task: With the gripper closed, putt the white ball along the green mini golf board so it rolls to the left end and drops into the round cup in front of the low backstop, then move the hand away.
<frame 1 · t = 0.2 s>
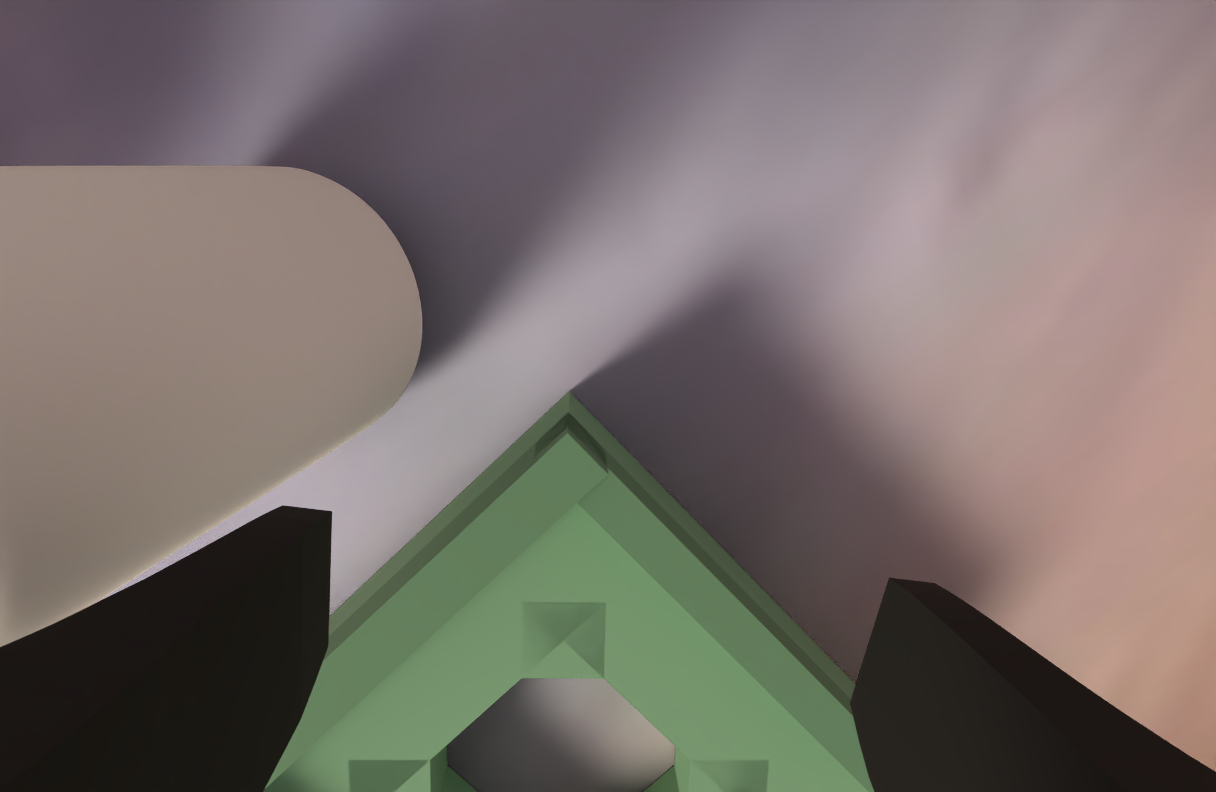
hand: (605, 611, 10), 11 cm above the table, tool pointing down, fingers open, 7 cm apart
can: (309, 305, 19), point 1 cm above the table
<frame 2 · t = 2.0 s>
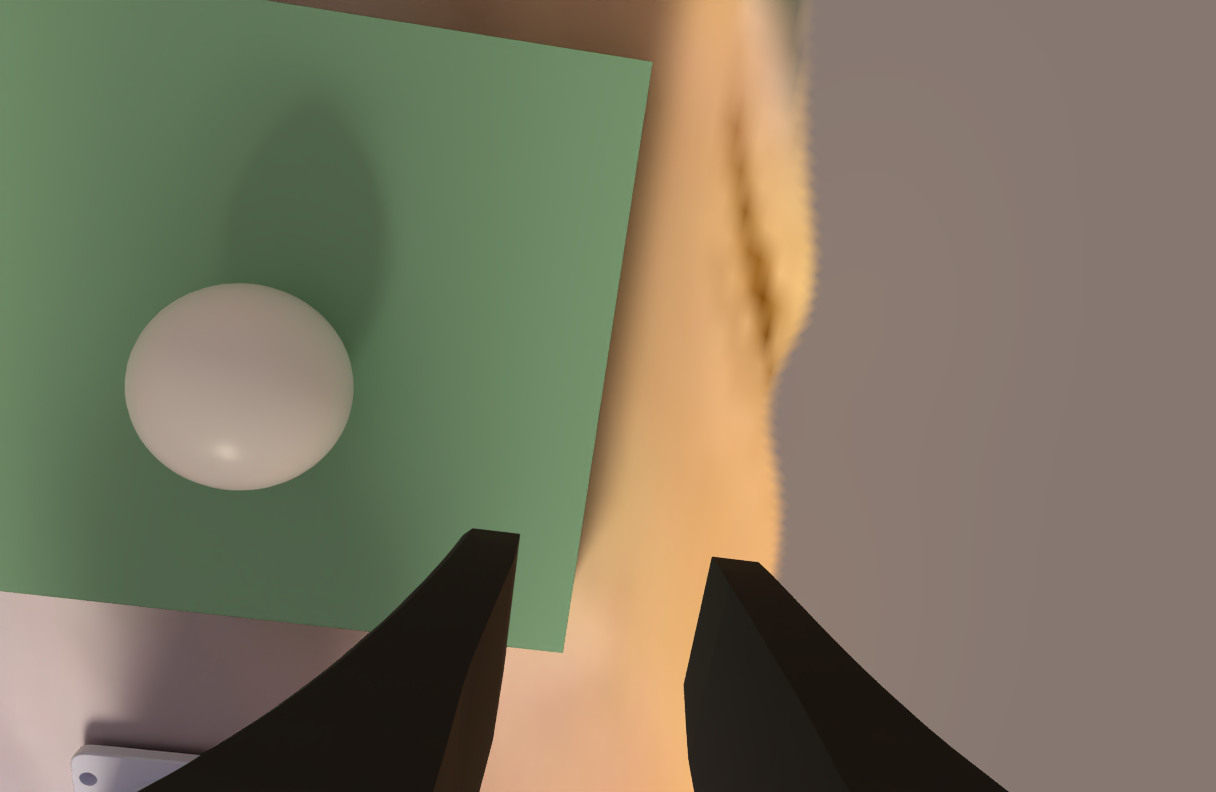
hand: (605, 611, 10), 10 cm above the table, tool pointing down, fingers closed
ball: (245, 386, 15), point 4 cm above the table, touching green mini golf board
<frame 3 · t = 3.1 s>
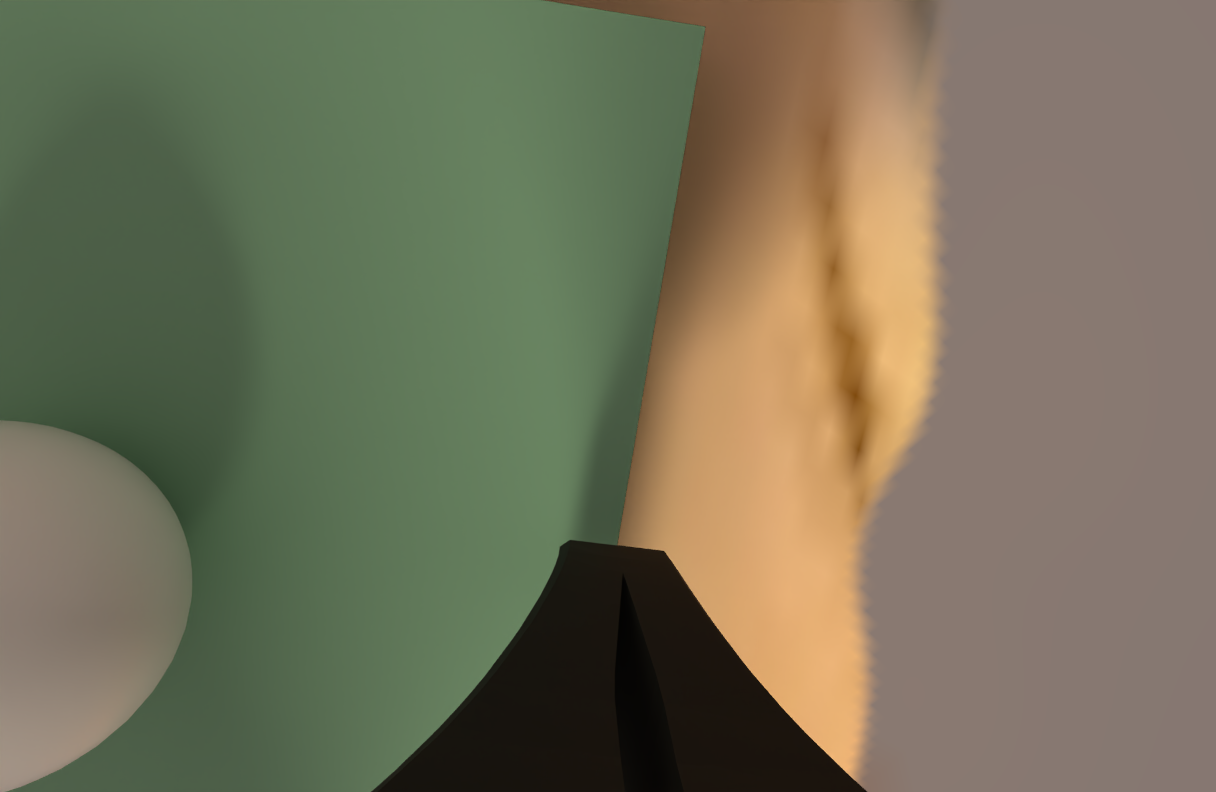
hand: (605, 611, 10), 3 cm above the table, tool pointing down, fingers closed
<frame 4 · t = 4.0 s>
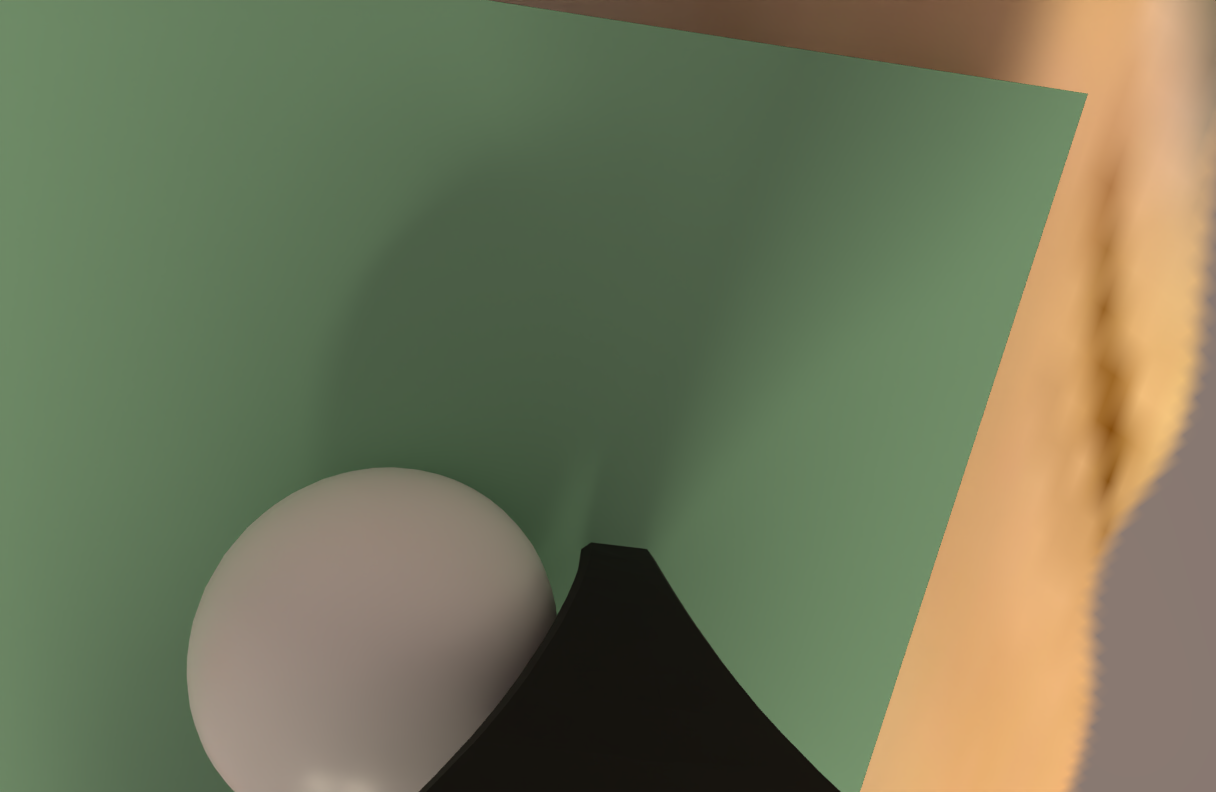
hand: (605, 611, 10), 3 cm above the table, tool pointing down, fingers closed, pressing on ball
ball: (384, 641, 9), point 4 cm above the table, tilted 5°, touching gripper, green mini golf board
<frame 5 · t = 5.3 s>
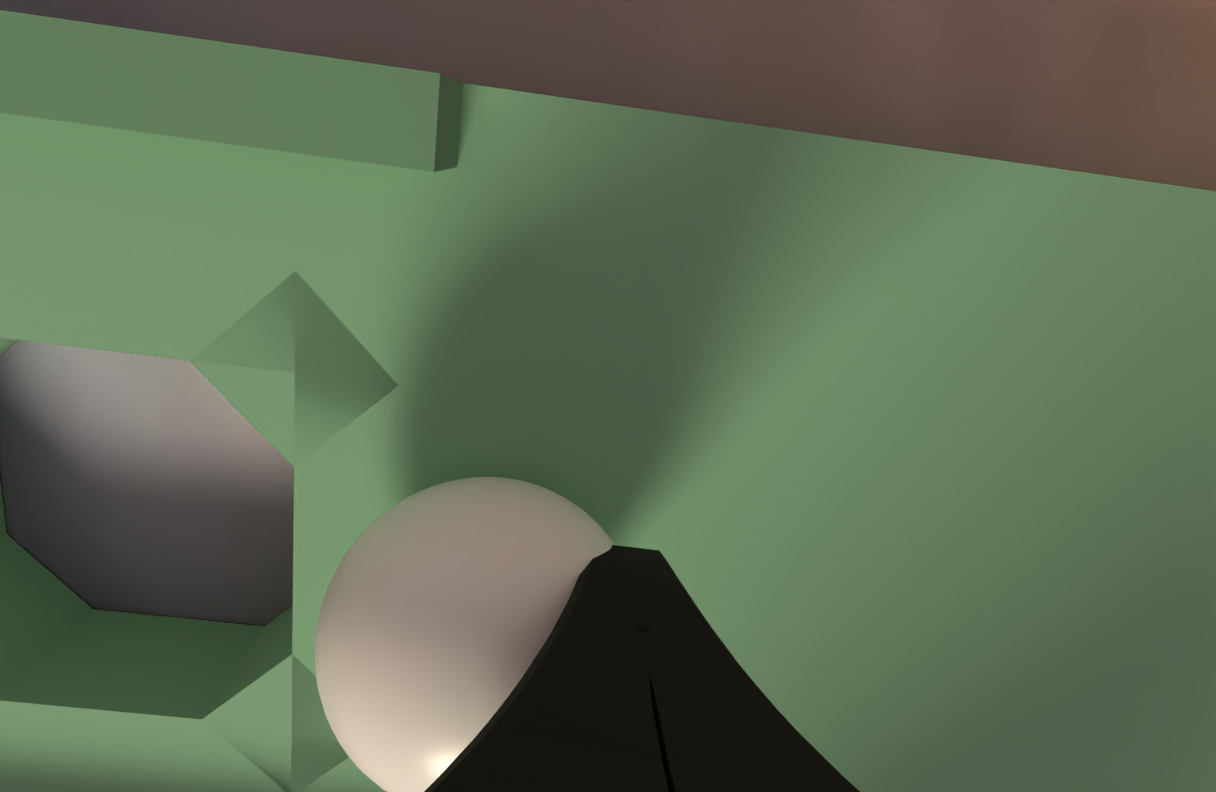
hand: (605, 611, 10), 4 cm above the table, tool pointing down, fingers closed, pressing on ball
green mini golf board: (619, 523, 14), on the table
ball: (484, 636, 10), point 4 cm above the table, tilted 69°, touching gripper, green mini golf board
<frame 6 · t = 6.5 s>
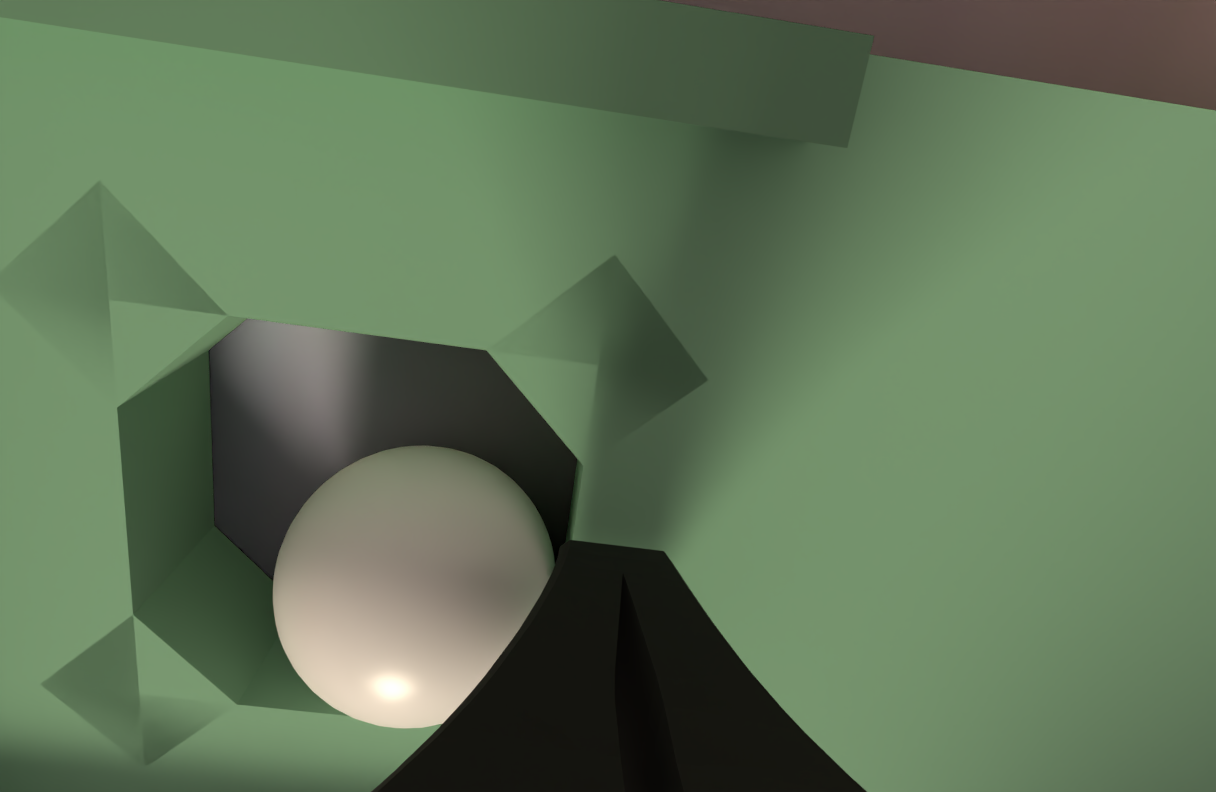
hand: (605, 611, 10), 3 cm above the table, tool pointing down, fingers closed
green mini golf board: (859, 521, 14), on the table
ball: (420, 581, 11), point 2 cm above the table, tilted 48°
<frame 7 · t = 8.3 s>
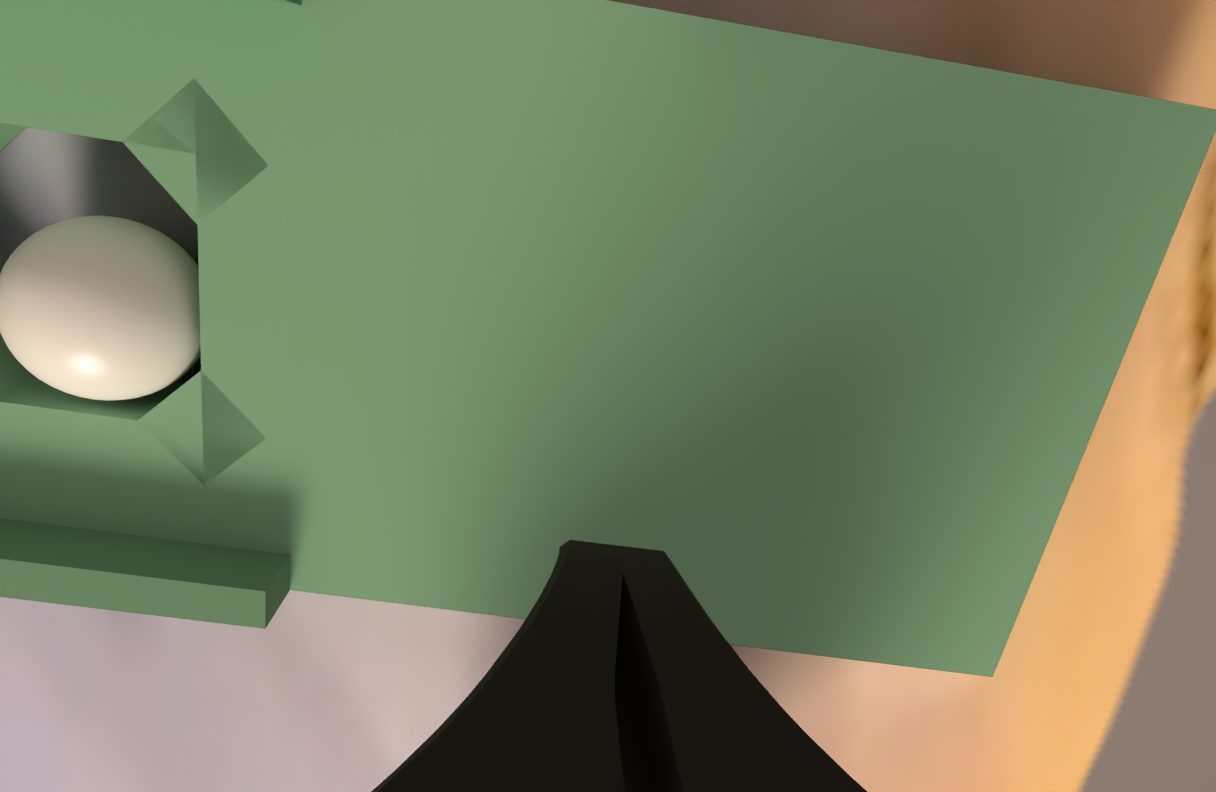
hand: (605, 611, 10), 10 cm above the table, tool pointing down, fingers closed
green mini golf board: (455, 307, 19), on the table
ball: (110, 309, 17), point 2 cm above the table, tilted 51°
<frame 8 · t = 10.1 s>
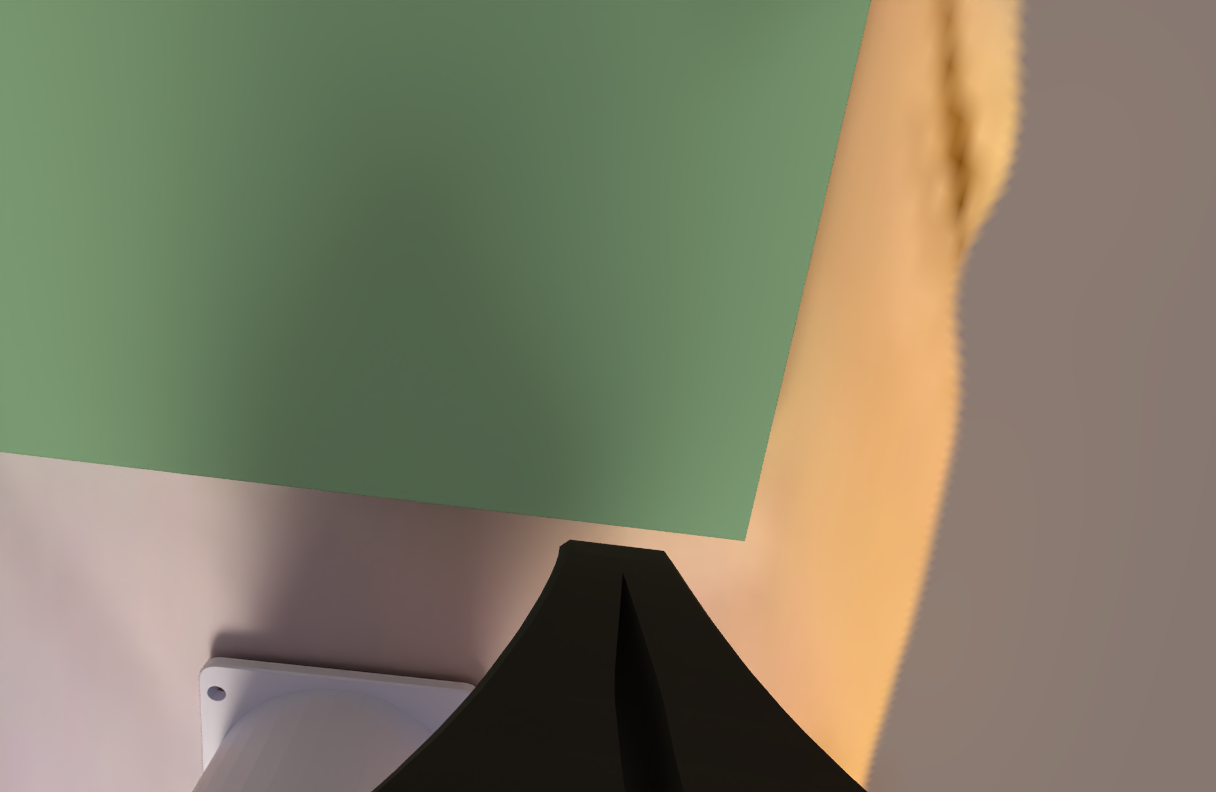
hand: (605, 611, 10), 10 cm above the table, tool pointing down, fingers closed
green mini golf board: (144, 141, 18), on the table
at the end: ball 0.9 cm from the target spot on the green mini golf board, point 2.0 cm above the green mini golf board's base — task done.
